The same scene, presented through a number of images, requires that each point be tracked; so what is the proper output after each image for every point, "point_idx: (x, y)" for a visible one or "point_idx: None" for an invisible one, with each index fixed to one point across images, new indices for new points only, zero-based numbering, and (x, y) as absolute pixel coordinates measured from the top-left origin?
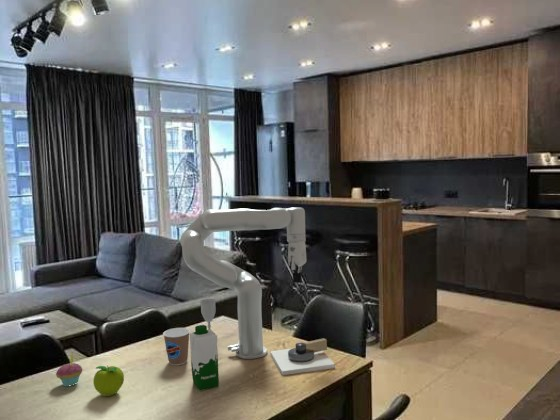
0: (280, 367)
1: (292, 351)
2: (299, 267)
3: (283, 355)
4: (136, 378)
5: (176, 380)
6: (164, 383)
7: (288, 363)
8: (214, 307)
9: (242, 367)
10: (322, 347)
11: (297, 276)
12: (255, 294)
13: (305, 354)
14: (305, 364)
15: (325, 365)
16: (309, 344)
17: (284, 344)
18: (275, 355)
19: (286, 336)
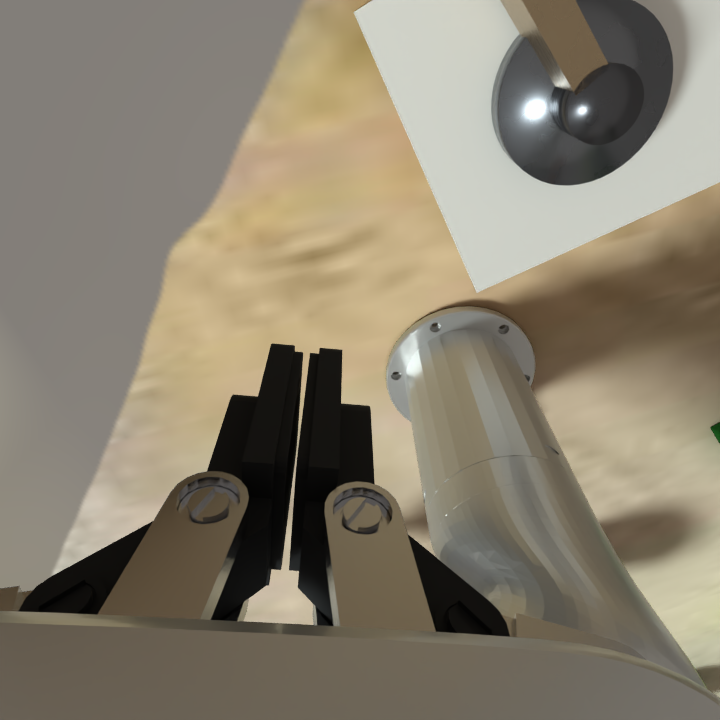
0: (705, 185)
1: (570, 159)
2: (342, 607)
3: (537, 210)
4: (663, 598)
5: (700, 513)
6: (716, 532)
7: (655, 153)
8: None
9: (616, 359)
10: None
11: (370, 458)
12: (665, 627)
13: (630, 56)
14: (688, 39)
15: None
16: (592, 37)
17: (316, 250)
18: (536, 252)
19: (191, 269)
